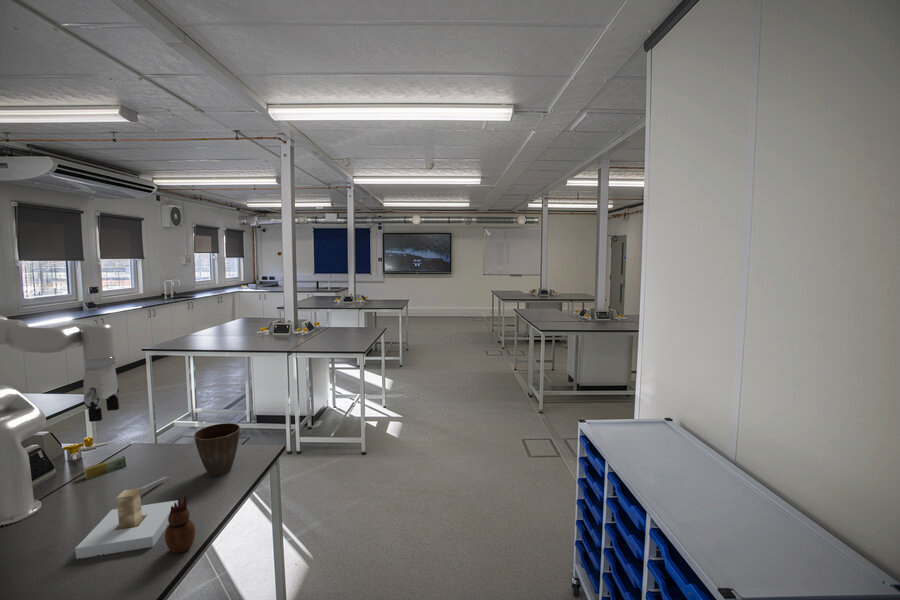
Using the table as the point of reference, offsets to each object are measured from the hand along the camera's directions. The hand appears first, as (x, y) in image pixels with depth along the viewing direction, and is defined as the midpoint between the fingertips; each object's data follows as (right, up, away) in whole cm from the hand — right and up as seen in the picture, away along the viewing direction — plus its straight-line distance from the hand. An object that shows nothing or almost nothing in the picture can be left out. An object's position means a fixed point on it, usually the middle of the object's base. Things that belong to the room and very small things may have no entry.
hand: (104, 415), depth 132 cm
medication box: (-20, -29, +24) cm, 43 cm away
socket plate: (+17, -31, -11) cm, 37 cm away
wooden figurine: (+37, -32, -19) cm, 52 cm away
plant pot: (+24, -28, +23) cm, 44 cm away
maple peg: (+17, -31, -11) cm, 37 cm away
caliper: (+7, -30, +9) cm, 32 cm away
